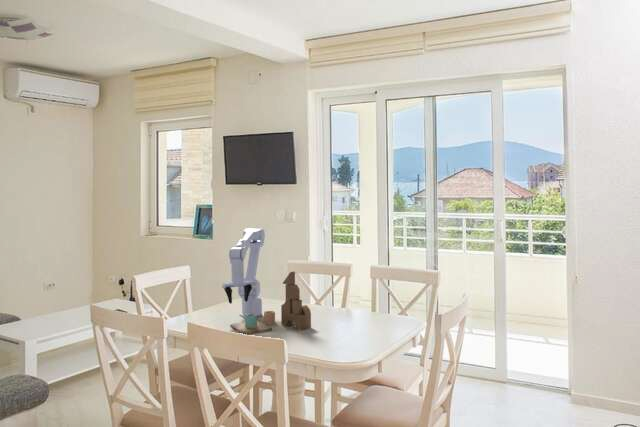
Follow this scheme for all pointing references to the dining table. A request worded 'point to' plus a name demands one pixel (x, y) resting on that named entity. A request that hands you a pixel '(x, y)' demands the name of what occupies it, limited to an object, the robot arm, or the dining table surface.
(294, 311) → the wooden toy
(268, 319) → the terracotta bead
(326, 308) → the dining table surface
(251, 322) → the teal bead
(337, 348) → the dining table surface
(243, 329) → the brown piece
